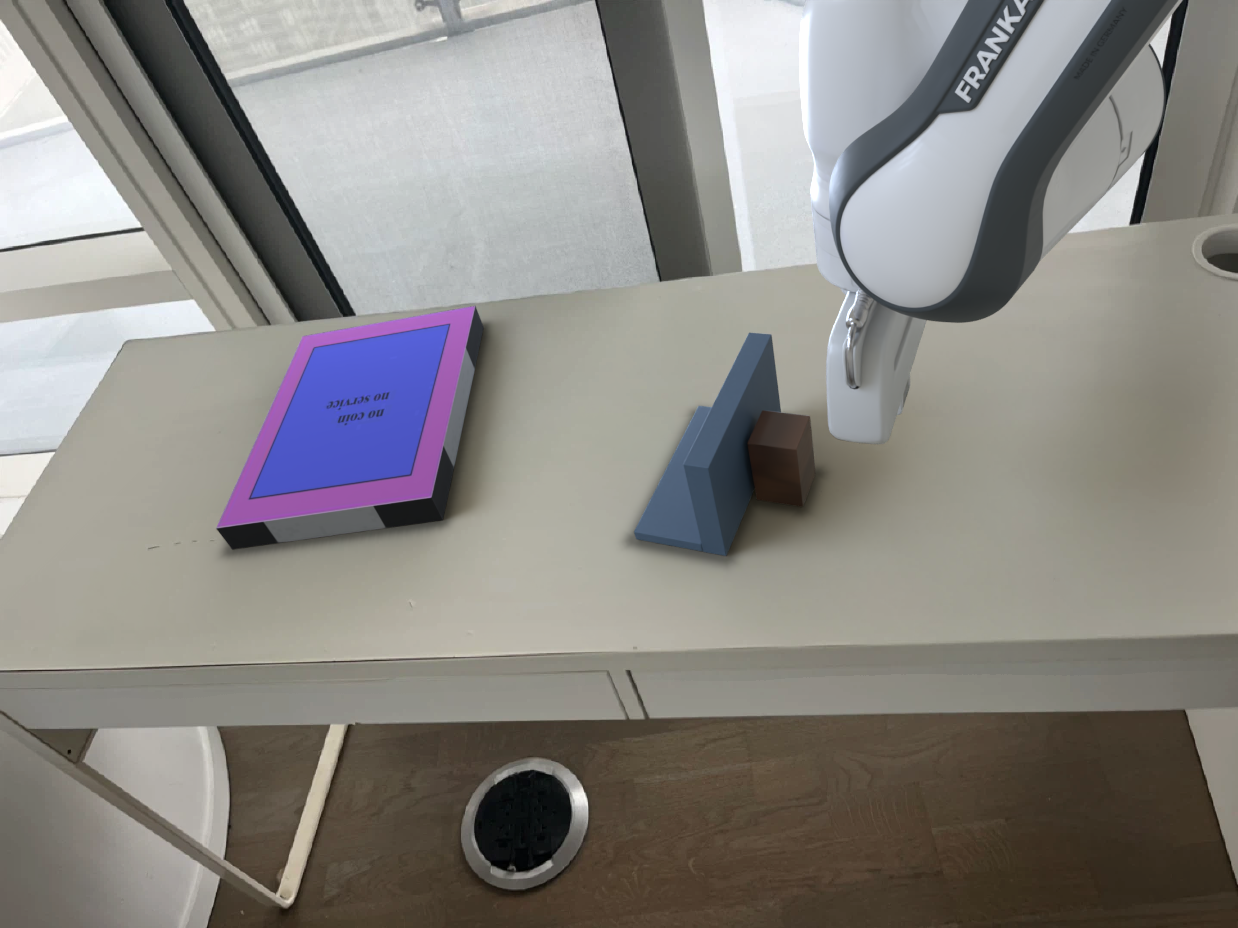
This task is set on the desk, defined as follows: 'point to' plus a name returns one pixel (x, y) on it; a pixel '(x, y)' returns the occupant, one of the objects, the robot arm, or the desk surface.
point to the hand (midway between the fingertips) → (893, 401)
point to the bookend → (715, 460)
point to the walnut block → (782, 457)
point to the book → (359, 432)
